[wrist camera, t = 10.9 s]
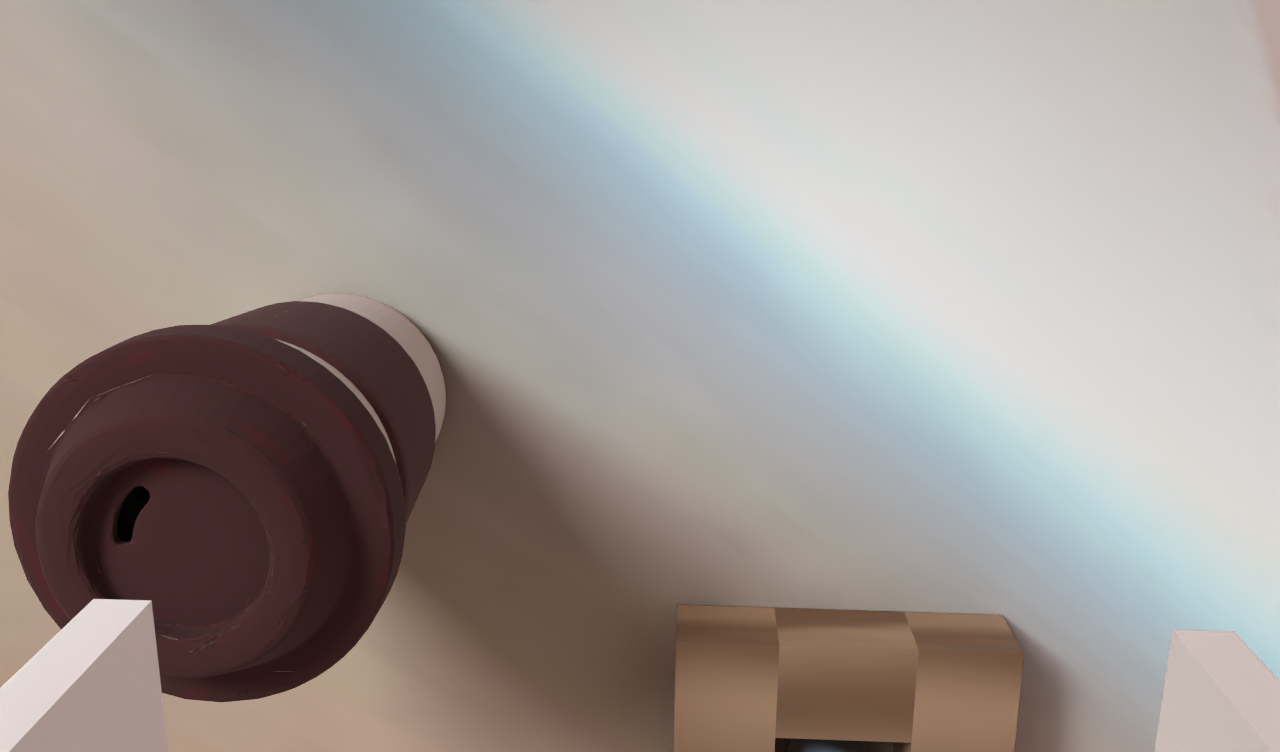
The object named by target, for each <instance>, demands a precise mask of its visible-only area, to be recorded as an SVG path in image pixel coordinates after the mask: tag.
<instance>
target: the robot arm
mask: <svg viewBox="0 0 1280 752" xmlns="http://www.w3.org/2000/svg"><path fill="white" fill-rule="evenodd" d="M0 752H168V744H167V735H166V726H165V717H164V708H163V699H162V690H161V681H160V672H159V663H158V655H157V646H156V637H155V628H154V619H153V610H152V601H151V600H116V599H93V600H92V601H91V602H90V603H89V604H88V605H87V606H86V607H85V608H83V609H82V610H81V611H80V612H79V613H78V614H77V615H76V616H75V617H74V618H73V619H72V620H71V621H70V622H69V623H68V624H67V625H66V626H65V627H64V628H63V629H61V630H60V631H59V632H58V633H57V634H56V635H55V636H54V637H53V638H52V639H51V640H50V641H49V642H48V643H47V644H46V645H45V646H44V647H43V648H42V649H41V650H39V651H38V652H37V653H36V654H35V655H34V656H33V657H32V658H31V659H30V660H29V661H28V662H27V663H26V664H25V665H24V666H23V667H22V668H21V669H20V670H18V671H17V672H16V673H15V674H14V675H13V676H12V677H11V678H10V679H9V680H8V681H7V682H6V683H5V684H4V685H3V686H2V687H1V688H0ZM1154 752H1280V681H1279V680H1278V678H1277V677H1276V676H1275V675H1274V674H1273V673H1272V672H1271V671H1270V670H1269V669H1268V668H1267V666H1266V665H1265V664H1264V663H1263V662H1262V661H1261V660H1260V659H1259V658H1258V657H1257V656H1256V655H1255V653H1254V652H1253V651H1252V650H1251V649H1250V648H1249V647H1248V646H1247V645H1246V644H1245V643H1244V641H1243V640H1242V639H1241V638H1240V637H1239V636H1238V635H1237V634H1236V633H1235V632H1234V631H1209V630H1173V631H1172V638H1171V645H1170V651H1169V658H1168V664H1167V671H1166V678H1165V684H1164V691H1163V698H1162V704H1161V711H1160V718H1159V724H1158V731H1157V737H1156V744H1155V751H1154Z"/></svg>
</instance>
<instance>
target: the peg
mask: <svg viewBox="0 0 1280 752" xmlns="http://www.w3.org/2000/svg"><path fill="white" fill-rule="evenodd" d="M789 752H868V750H867V746H866V742H865V741H848V740H821V739H794V738H792V740H791V742H790V746H789Z"/></svg>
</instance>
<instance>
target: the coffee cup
mask: <svg viewBox="0 0 1280 752" xmlns="http://www.w3.org/2000/svg"><path fill="white" fill-rule="evenodd" d="M445 407H446V391H445V383H444V377H443V374H442V371H441V367H440V364H439V361H438V359H437V357H436V355H435V353H434V351H433V349H432V347H431V346H430V344H429V342H428V341H427V340H426V338H425V337H424V336H423V334H422V333H421V332H420V331H419V329H418V328H417V327H416V326H414V325H413V324H412V323H411V322H410V321H409V320H408V319H407V318H406V317H405V316H403V315H402V314H400V313H399V312H397V311H395V310H394V309H392V308H390V307H389V306H387V305H385V304H383V303H380V302H378V301H375V300H372V299H370V298H366V297H362V296H357V295H351V294H324V295H318V296H313V297H310V298H306V299H303V300H300V301H293V302H285V303H277V304H272V305H268V306H265V307H261V308H258V309H255V310H252V311H249V312H246V313H244V314H241V315H238V316H235V317H232V318H229V319H226V320H223V321H220V322H217V323H214V324H211V325H181V326H174V327H168V328H163V329H158V330H153V331H150V332H147V333H144V334H141V335H138V336H135V337H132V338H130V339H128V340H125V341H123V342H121V343H119V344H116V345H114V346H112V347H110V348H108V349H106V350H104V351H102V352H100V353H98V354H96V355H94V356H92V357H90V358H88V359H87V360H85V361H83V362H82V363H80V364H79V365H77V366H76V367H75V368H73V369H72V370H71V371H69V372H68V373H67V374H65V375H64V376H63V377H62V378H61V379H60V380H59V381H58V382H57V383H56V384H55V385H54V386H53V387H51V389H50V390H49V391H48V392H47V394H46V395H45V396H44V397H43V399H42V400H41V401H40V403H39V404H38V406H37V407H36V409H35V410H34V412H33V413H32V415H31V416H30V418H29V420H28V422H27V424H26V426H25V428H24V430H23V432H22V434H21V437H20V439H19V441H18V444H17V447H16V451H15V454H14V457H13V463H12V470H11V477H10V484H9V492H8V495H9V515H10V524H11V529H12V535H13V540H14V545H15V548H16V551H17V554H18V557H19V559H20V562H21V564H22V567H23V570H24V572H25V575H26V577H27V580H28V582H29V583H30V585H31V587H32V588H33V590H34V592H35V593H36V595H37V597H38V599H39V600H40V602H41V604H42V605H43V607H44V609H45V610H46V611H47V613H48V614H49V615H50V616H51V617H52V619H53V620H54V621H55V622H56V623H57V625H58V626H59V627H60V628H61V629H63V628H64V627H65V626H66V625H67V624H68V623H69V622H70V621H71V620H72V619H73V618H74V617H75V616H76V615H77V614H78V613H79V612H80V611H81V610H82V609H83V608H85V607H86V606H87V605H88V604H89V603H90V602H91V601H92V600H93V599H116V600H151V601H152V610H153V619H154V628H155V637H156V646H157V655H158V663H159V672H160V681H161V690H162V693H166V694H169V695H173V696H177V697H180V698H184V699H192V700H203V701H215V702H229V701H240V700H250V699H259V698H263V697H267V696H270V695H274V694H277V693H281V692H284V691H287V690H290V689H293V688H295V687H297V686H300V685H302V684H304V683H305V682H307V681H309V680H311V679H313V678H315V677H317V676H318V675H320V674H321V673H323V672H324V671H326V670H327V669H329V668H331V667H332V666H333V665H334V664H335V663H337V662H338V661H339V660H340V659H342V658H343V657H344V656H345V655H346V654H347V653H348V652H349V651H350V650H351V649H352V648H353V647H354V646H355V645H356V643H357V642H358V641H359V640H360V638H361V637H362V636H363V634H364V633H365V632H366V631H367V629H368V628H369V626H370V625H371V623H372V621H373V619H374V618H375V616H376V614H377V613H378V611H379V609H380V608H381V606H382V604H383V603H384V601H385V599H386V597H387V595H388V593H389V592H390V590H391V587H392V585H393V582H394V580H395V578H396V575H397V572H398V568H399V565H400V561H401V557H402V552H403V544H404V537H405V528H406V522H407V520H408V518H409V515H410V513H411V511H412V509H413V506H414V504H415V502H416V500H417V497H418V495H419V493H420V491H421V488H422V486H423V484H424V482H425V479H426V477H427V474H428V472H429V469H430V466H431V463H432V459H433V454H434V448H435V442H436V440H437V438H438V436H439V433H440V430H441V428H442V424H443V420H444V416H445Z"/></svg>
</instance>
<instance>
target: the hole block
mask: <svg viewBox="0 0 1280 752" xmlns="http://www.w3.org/2000/svg"><path fill="white" fill-rule="evenodd" d="M1023 659H1024V653H1023V651H1022V649H1021V647H1020V645H1019V644H1018V642H1017V640H1016V638H1015V636H1014V635H1013V633H1012V631H1011V629H1010V627H1009V626H1008V624H1007V622H1006V620H1005V619H1004V617H1003V615H986V614H955V613H924V612H893V611H862V610H830V609H799V608H768V607H737V606H706V605H677V627H676V661H675V706H674V752H775V738H794V739H821V740H848V741H875V742H895V743H894V752H1014V747H1015V737H1016V728H1017V718H1018V708H1019V698H1020V689H1021V679H1022V669H1023Z"/></svg>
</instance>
